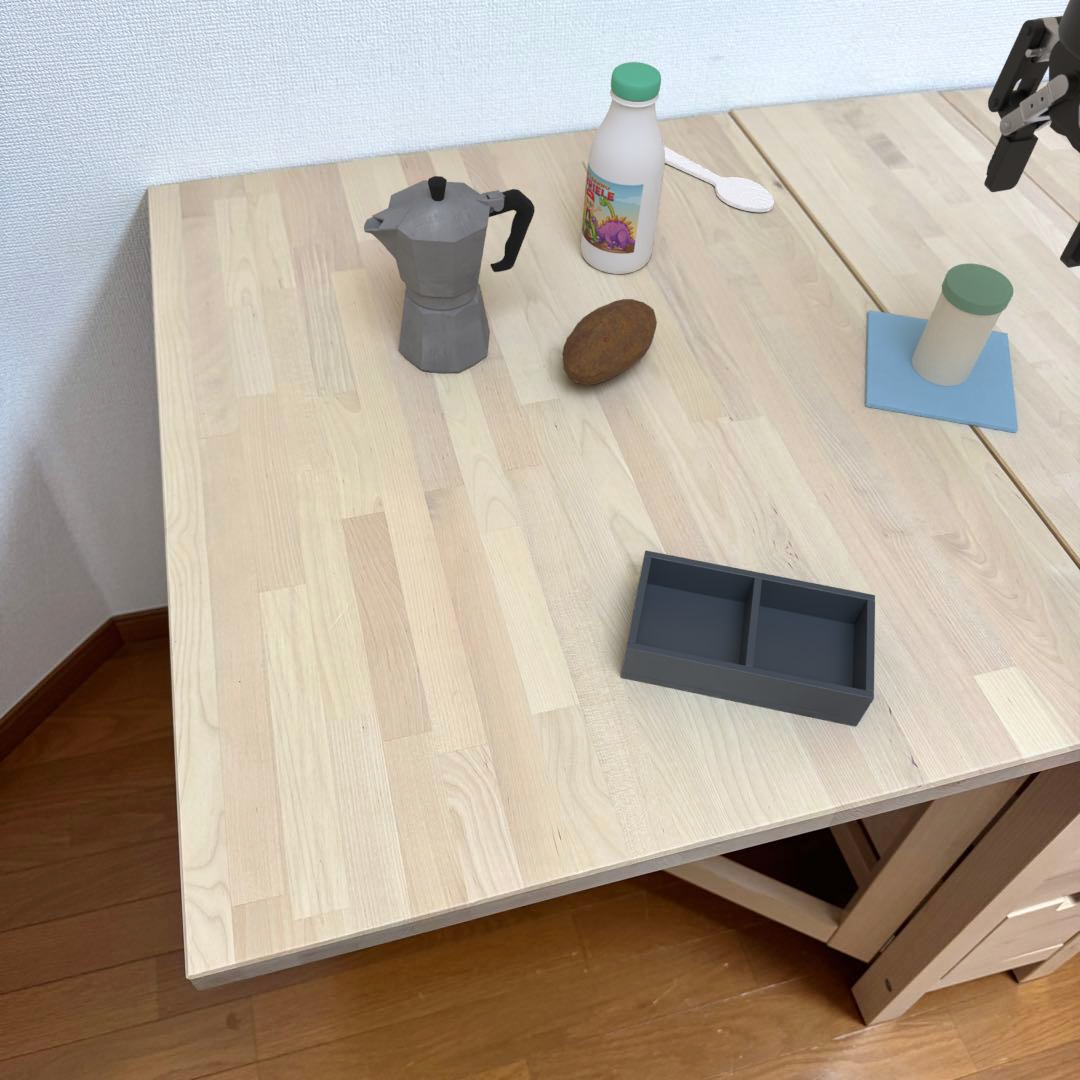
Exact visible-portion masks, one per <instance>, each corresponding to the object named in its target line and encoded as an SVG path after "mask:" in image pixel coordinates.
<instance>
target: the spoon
mask: <svg viewBox="0 0 1080 1080" xmlns="http://www.w3.org/2000/svg"><path fill="white" fill-rule="evenodd" d="M664 148H665V164H667V165H669V166H672V168H675V169H678V170H680V171H682V172H684V173H686V174H688V175H691V176H693V177H695V178H696V179H699V180H702V181H703V182H706V183H708V184H710V185H712V186H713V187H714V191H715V194H716V196H717V197H718V199H720V200H721V201H722V202H724V203H725V204H726V205H728V206H731V207H733V208H735V209H739V210H741V211H746V212H751V213H767V212H770V211H772V209H773V208H774V205H775V199H774V196H773V195H772V193H771V192H770V191H769V189H766V187H764V186H763V185H761V184H760V183H757V182H755V181H753V180H752V179H750V178H749V179H748V178H746V177H740V176H738V177H737V176H730V177H724V176H721V175H718V174H716V173H714V172H712V171H711V170H710V169H709V168H708V169H707V168H705V167H703V166H702V165H700V164H698V163H695V162H694V161H693V160H690V159H689V158H687V157H685V156H684V155H681V154H680V153H678V152H676V151H675V150H672V149H670V148H669V147H667V146H666V145H664Z"/></svg>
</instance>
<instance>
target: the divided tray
mask: <svg viewBox="0 0 1080 1080" xmlns="http://www.w3.org/2000/svg"><path fill="white" fill-rule="evenodd" d="M633 604H634V606H633V610H632V614H631V621H630V625H629V631H628V637H627V641H626V646H625V651H624V657H623V663H622V667H621V672H620V678H621V679H626V680H631V681H635V682H641V683H645V684H650V685H655V686H659V687H663V688H668V689H674V690H678V691H682V692H683V691H684V692H687V693H694V694H697V695H702V696H708V697H712V698H717V699H721V700H725V701H731V702H736V703H741V704H745V705H750V706H756V707H760V708H765V709H769V710H775V711H779V712H784V713H790V714H793V715H798V716H803V717H808V718H813V719H818V720H822V721H827V722H832V723H837V724H842V725H847V726H852V727H858V725H859V723H860V722H861V720H862V719H863V717H864V716H865V714H866V712H867V711H868V710H869V708H870V706H871V704H872V703H873V701H874V699H875V653H876V652H875V650H876V649H875V648H876V647H875V646H876V645H875V643H876V595H875V594H871V593H866V592H861V591H856V590H851V589H846V588H840V587H837V586H836V587H835V586H831V585H825V584H820V583H815V582H810V581H805V580H799V579H794V578H789V577H784V576H780V575H773V574H769V573H765V572H764V573H763V572H760V571H759V572H758V571H754V570H749V569H743V568H739V567H733V566H728V565H723V564H718V563H712V562H708V561H703V560H697V559H692V558H687V557H683V556H677V555H671V554H667V553H661V552H656V551H650V550H645V551H644V554H643V559H642V564H641V570H640V574H639V579H638V583H637V589H636V594H635V599H634V603H633Z"/></svg>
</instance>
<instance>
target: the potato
mask: <svg viewBox="0 0 1080 1080" xmlns="http://www.w3.org/2000/svg"><path fill="white" fill-rule="evenodd" d="M657 323H658V322H657V318H656V314H655V310H654V308H652V306H650V305H649V304H647V303H645V302H644V301H640V300H636V299H633V298H622V299H618V300H614V301H611V302H609V303H607V304H604V305H602V306H600V307H597V308H596V309H594V310H593V311H591V312H589V313H587V315H585V316H583V317H582V318H581V319H580V320H579V322H577V324H576V325H575V327H574V328H573V330H572V331H571V332H570V334H569V335H568V336H567V338H566V340H565V343H564V345H563V349H562V353H561V356H562V362H563V363H562V364H563V370H564V371H565V373H566V374H567V376H568V378H569V379H570V380H571V381H574V382H575V383H577V384H580V385H589V386H590V385H595V384H600V383H603V382H606V381H608V380H611V379H612V378H614V377H616V376H618V375H620V374H622V373H623V372H625V371H626V370H628V369H630V368H631V367H632V366H634V365H635V364H636V363H638V362H639V361H640V360H642V358H643V357H644V356H645V355H646V354H647V353H648V351H649V349H650V347H651V345H652V343H653V341H654V336H655V333H656V330H657Z"/></svg>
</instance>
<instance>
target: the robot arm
mask: <svg viewBox="0 0 1080 1080" xmlns="http://www.w3.org/2000/svg"><path fill="white" fill-rule="evenodd" d="M1047 71H1048V82H1047V83H1046V85H1045V86H1043V87H1042V88H1041V87H1040V85H1041V83H1042V82H1043V80H1044V77H1045V75H1046V73H1047ZM1019 81H1020V82H1019ZM1016 85H1018V86H1017V88H1016V89H1015V87H1016ZM1039 87H1040V89H1039ZM987 107H988V110H989V112H991V113H997V114H998V116H999V118H1000V122H999V132H1000V133H1001V134H1000V137H999V139H998V142H997V144H996V147H995V148H994V151H993V154H992V156H991V159H990V160H989V162H988V165H987V168H986V177H985V180H984V181H983V182H984V183H983V185H984V187H986V189H987V190H988V191H989V192H990V193H997V192H1003V191H1010V190H1013V188H1015V187H1016V186H1017V185H1018V183H1019V181H1020V179H1021V178H1022V175H1023V172H1024V171H1025V168H1026V166H1027V164H1028V162H1029V160H1030V158H1031V156H1032V154H1033V151H1034V150H1035V147H1036V145H1037V143H1038V140H1039V137H1038V136H1037V135H1036V134H1035V132H1038V131H1040V130H1042V129H1043V128H1045V127H1047V126H1048V125H1049V128H1050V129H1052V130H1053V131H1054V132H1055V133H1056V134H1058V135H1060V136H1064V137H1065V138H1066V139H1067V141H1068V143H1069V145H1071V147H1072V148H1073V149H1074V150H1076V151H1077V153H1079V154H1080V0H1069V1H1068V2H1067V5H1066V7H1065V10H1064V12H1063V14H1062V15H1057V16H1046V17H1045V16H1044V17H1038V18H1034V19H1028V20H1026V21H1024V22H1023V23H1022V25H1021V28H1020V30H1019V32H1018V35H1017V36H1016V38H1015V41H1014V42H1013V45H1012V47H1011V49H1010V52H1009V54H1008V56H1007V59H1006V60H1005V63H1004V64H1003V67H1002V69H1001V71H1000V73H999V75H998V77H997V80H996V82H995V84H994V87H993V88H992V91H991V93H990V95H989V97H988V100H987ZM1059 260H1060V262H1061V263H1063V265H1064V266H1065V267H1067V268H1068V269H1072V268H1076V267H1080V220H1079V221H1078V224H1077V225H1076V227H1075V229H1074V230H1073V233H1072V234H1071V236H1070V238H1069V240H1068V241H1067V243H1066V244H1065V247H1064V249H1063V251H1062V253H1061V255H1060V256H1059Z"/></svg>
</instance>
